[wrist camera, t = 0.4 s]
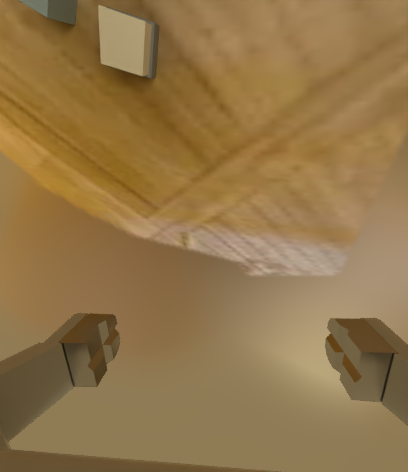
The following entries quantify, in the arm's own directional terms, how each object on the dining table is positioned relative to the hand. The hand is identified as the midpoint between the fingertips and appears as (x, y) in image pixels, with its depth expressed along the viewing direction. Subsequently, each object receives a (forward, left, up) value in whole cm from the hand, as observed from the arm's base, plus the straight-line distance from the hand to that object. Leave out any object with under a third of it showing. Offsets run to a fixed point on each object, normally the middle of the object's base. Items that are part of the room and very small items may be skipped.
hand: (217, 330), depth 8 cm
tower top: (-17, -5, -47) cm, 50 cm away
